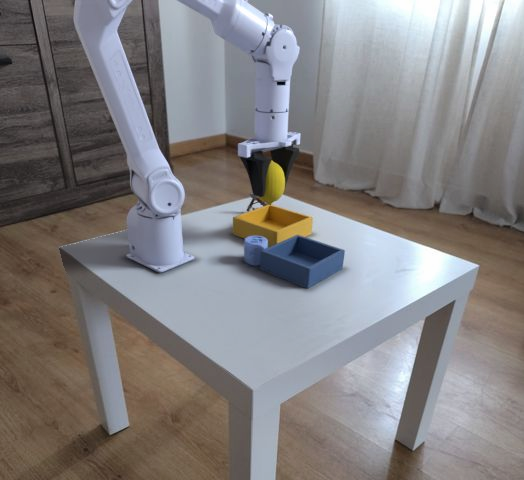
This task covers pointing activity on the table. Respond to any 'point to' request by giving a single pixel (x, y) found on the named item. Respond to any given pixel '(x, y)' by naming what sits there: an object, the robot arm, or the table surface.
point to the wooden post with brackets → (255, 198)
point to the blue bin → (302, 260)
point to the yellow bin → (272, 224)
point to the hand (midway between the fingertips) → (269, 191)
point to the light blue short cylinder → (254, 249)
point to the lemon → (274, 183)
